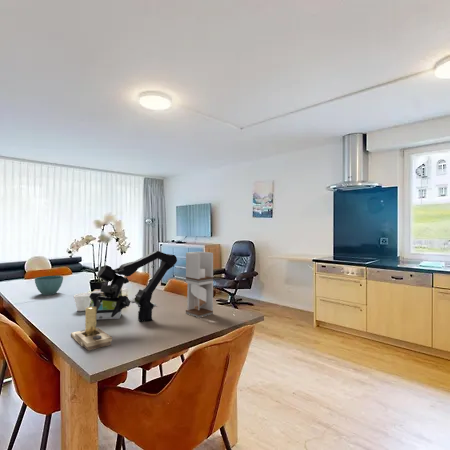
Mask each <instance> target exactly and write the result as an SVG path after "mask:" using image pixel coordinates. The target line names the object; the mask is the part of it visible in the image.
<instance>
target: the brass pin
mask: <svg viewBox="0 0 450 450" xmlns="http://www.w3.org/2000/svg"><path fill="white" fill-rule="evenodd" d="M96 318H97V307H91V306H89V307H87V308H86V311H85V319H84V320H85V324H84V326H85V327H84V328H85V329H84V330H85V337H87V336H92V335H96V328H97V320H96Z"/></svg>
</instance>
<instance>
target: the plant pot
mask: <svg viewBox="0 0 450 450" xmlns="http://www.w3.org/2000/svg"><path fill="white" fill-rule="evenodd" d="M63 280H64V276H63V275H47V276H46V275H45V276H40V277H39V276H38V277H35V278H34V283H35V284H34V285H35V287H36V289H37V290H38V292H39V293H40V294H41V295H43V296H52V295H55V294H57V292H58V291H60V288H61V287H62V284H63Z"/></svg>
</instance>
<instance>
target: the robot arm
mask: <svg viewBox="0 0 450 450" xmlns="http://www.w3.org/2000/svg"><path fill="white" fill-rule="evenodd" d="M155 260H160V265H159V267H158V269H157V270H156V272H155V273H154V274H153V276H152V278H151V279H150V280H149V282H148V284H147V285H146V286H145V288H143V289H139V290H138V291H137V293H136V294H135V296H134V298H135V304H136V305H137V307H138V311H137V319H138V321H139V323H142V322H143V323H144V322H151V321H153V309H154V308H155V307H154V305H153V304H154V303H153V302H151V301H152V297H153V293H154V291H155V289H157V286H158V285H159V284H160V282H161V281H162V279H163V278H164V276H165V275H166V273H167V272H168V271H169V270H171V268H173V267H174V266H175V265H176V264H177V262H178V259H177V256H176V255H174V254H171V253H170V254H169V253H165V252H162V251H160V250H153V252H150V253H148V254H146V255H145V256H144V255H143V257H142V256H141V257H140V258H138V259H136V260H133V261H130V262H125V263H122V264H121V265H119V267H117V268H112V267H110V266H109V265H107V264H105V265H104V266H103V267H102V268H101V269H100V270H99V271H98V273H97V275H96V276H97V277H98V278H99V279H101V280H102V281H104V282H106V283H109V282H111V283H110V284H108V285H106V284H102V285H101V288H100V289H101V291H100V292H104V293H103V294H104V295H105V296H101V295H100V293H94V292H93V291H92V292H93V293H91V292H90V293H91V294H90V296H89V297H90V299H91V300H92V301H93V303H94V306H93V307H97V310H98V309H99V307H100V305H101V302H102V300H103V301H112V302H116V306H115V308H114V310H113V312H112V315H111V317H114V316H115V315H116V314H117V313H118V312H119V311H120V310H123V309H126V308H127V307H129V306H131V305H130V304H131V302H130V298H128V296H127V295H122V296H121V295H120V296H119V297H118V295H119V294H121V289H122V288H123V287H124V285H125V284H127V283H129V282H130V281H129V279H128V277H130V276H131V275H133V274H135V273H136V272H137V271H138V270H139V269H140V268H142V267H144V266H146V265H147V264H150V263H152V262H154V261H155ZM122 290H123V289H122ZM152 303H153V304H152Z"/></svg>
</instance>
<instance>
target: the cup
mask: <svg viewBox="0 0 450 450" xmlns="http://www.w3.org/2000/svg"><path fill="white" fill-rule="evenodd" d="M90 294H91V292H82V293H81V292H80V293H76V294H74V295H73V299H74V302H75V307H76V311H77V312H86V308H87V307H91V299H90V297H89V296H90Z"/></svg>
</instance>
